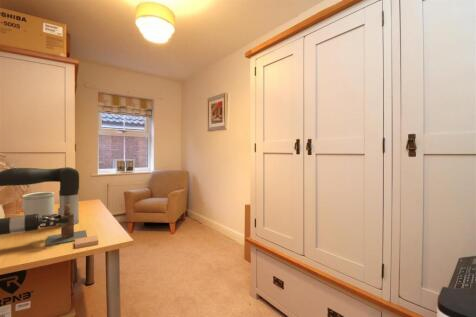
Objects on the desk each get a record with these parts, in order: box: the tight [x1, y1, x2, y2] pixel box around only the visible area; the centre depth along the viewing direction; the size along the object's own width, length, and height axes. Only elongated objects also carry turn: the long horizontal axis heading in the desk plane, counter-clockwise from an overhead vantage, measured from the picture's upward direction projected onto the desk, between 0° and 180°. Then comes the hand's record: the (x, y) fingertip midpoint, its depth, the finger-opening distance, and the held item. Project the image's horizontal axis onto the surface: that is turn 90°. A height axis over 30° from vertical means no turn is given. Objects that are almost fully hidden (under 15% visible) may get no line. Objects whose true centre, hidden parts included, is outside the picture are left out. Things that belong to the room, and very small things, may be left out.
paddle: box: [60, 204, 75, 239], centre depth 118 cm, size 5×3×16 cm, turn 127°
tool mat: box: [45, 229, 88, 247], centre depth 118 cm, size 16×14×1 cm
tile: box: [74, 235, 99, 249], centre depth 112 cm, size 2×8×9 cm
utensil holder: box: [21, 191, 55, 218], centre depth 142 cm, size 15×15×18 cm
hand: (68, 217), depth 118 cm, fingers open, 8 cm apart
